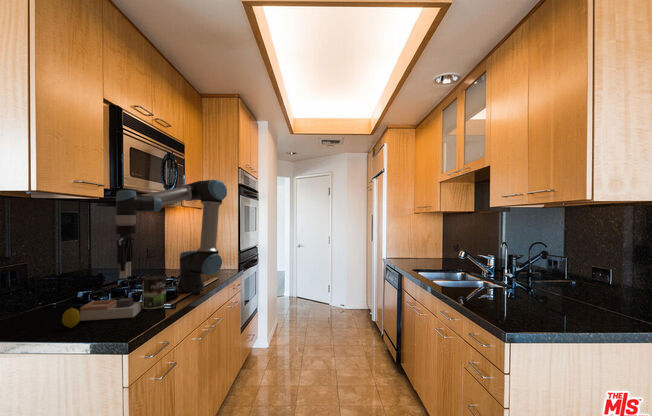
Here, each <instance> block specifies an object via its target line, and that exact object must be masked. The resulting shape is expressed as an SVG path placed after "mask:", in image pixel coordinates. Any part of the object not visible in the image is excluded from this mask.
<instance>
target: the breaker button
mask: <svg viewBox="0 0 652 416" xmlns="http://www.w3.org/2000/svg"><path fill="white" fill-rule="evenodd" d="M133 302H134V298H133V297H123V298H122V297H121V298H119V299H118V300H117V301H116V308H121V307H131V306H132V305H133Z"/></svg>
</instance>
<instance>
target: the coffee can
mask: <svg viewBox="0 0 652 416" xmlns="http://www.w3.org/2000/svg"><path fill="white" fill-rule="evenodd" d="M141 281H142V300H141V309H143V310H155V309H156V310H157V309H161V308H164V307H165V306H164V304H165V303H166V304H167V275H164V274H163V275H160V274H159V275H158V274H157V275H148V276H144V277H142V280H141Z"/></svg>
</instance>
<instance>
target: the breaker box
mask: <svg viewBox="0 0 652 416" xmlns="http://www.w3.org/2000/svg"><path fill="white" fill-rule="evenodd" d="M116 301H118V300H117V299H111V300H109V299H108V300H106V299H105V300H91V301H90V302H88V303H86V304H84V305H82V306H80V309H79V310H80V311H79V313H80V320H79V322H83V321H97V320H99V321H100V320H112V319H126V318H127V319H128V318H129V319H130V318H134V317H136V316H137V315H138V314H139V313H140V312H141V311H142V301H133V305H132V306H131V307H121V308H116Z"/></svg>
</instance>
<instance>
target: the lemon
mask: <svg viewBox="0 0 652 416" xmlns="http://www.w3.org/2000/svg"><path fill="white" fill-rule="evenodd" d="M79 322H80V311H79V310H78V309H77V308H74V307H70V308H68V309H67V310H65V311H64V313H63V314H62V318H61V323H62V324H63V325H64V326H65V327H67V328H69V329H73V327H75V326H76V325H77V324H79Z"/></svg>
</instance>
